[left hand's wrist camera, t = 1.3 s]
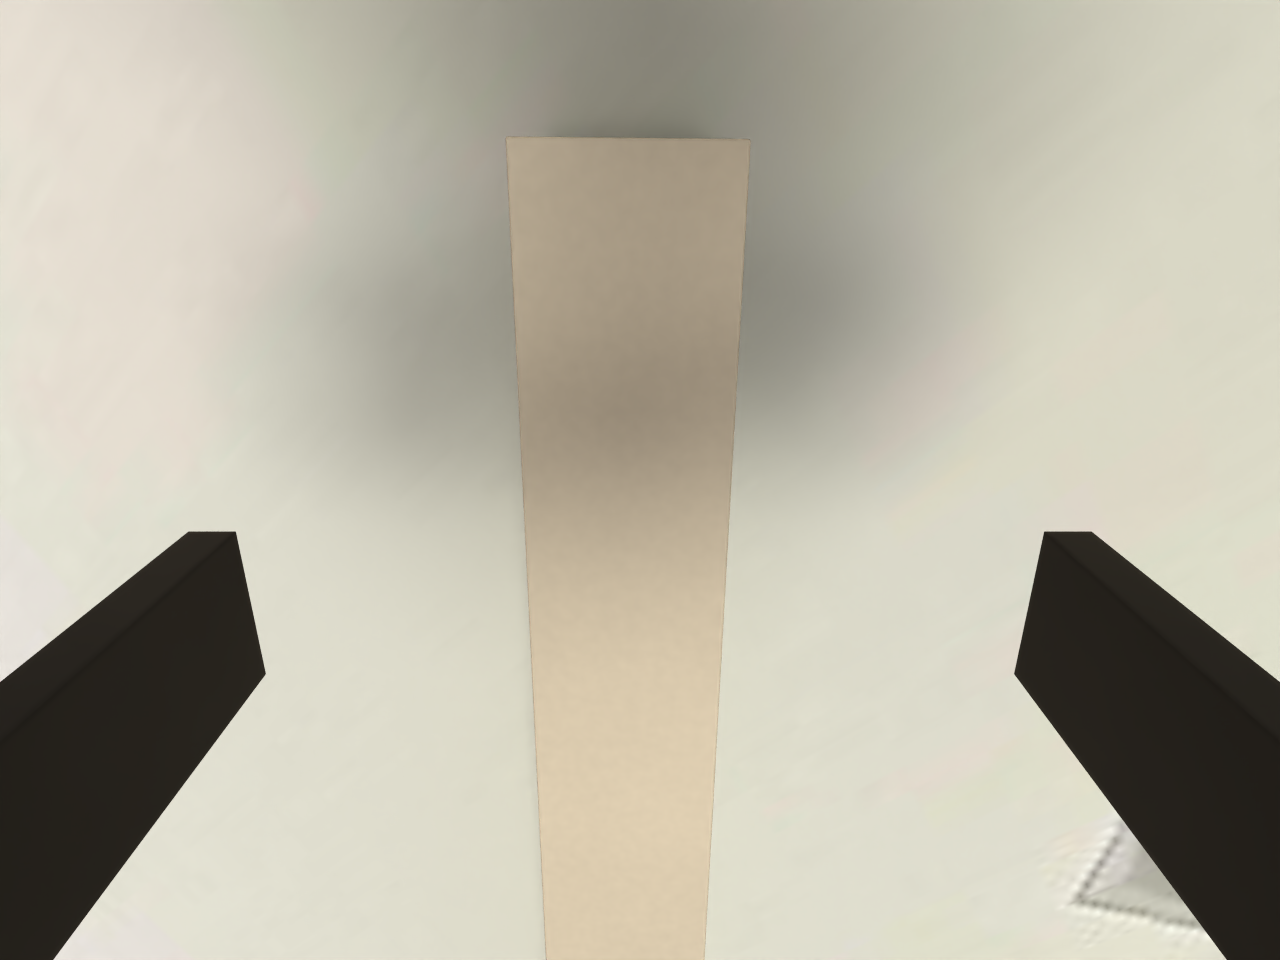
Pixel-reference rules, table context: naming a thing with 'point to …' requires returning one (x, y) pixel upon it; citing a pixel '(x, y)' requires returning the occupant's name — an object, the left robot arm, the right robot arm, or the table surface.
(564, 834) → the bar
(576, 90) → the table surface
